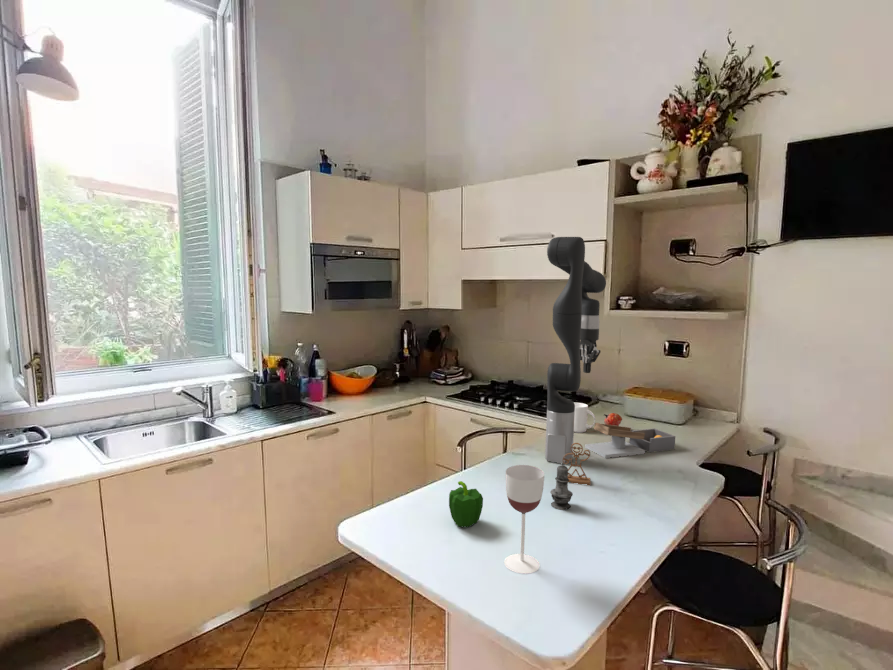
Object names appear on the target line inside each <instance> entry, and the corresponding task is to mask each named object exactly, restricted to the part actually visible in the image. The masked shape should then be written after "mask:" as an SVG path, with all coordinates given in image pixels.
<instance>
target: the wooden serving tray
mask: <svg viewBox="0 0 893 670" xmlns="http://www.w3.org/2000/svg"><path fill="white" fill-rule="evenodd" d="M593 429H594V430H595V431H598V432H600V433H603V434H604V435H605V436H606V435H607V436H611V437H612V436H619V437H625V438H628V439H630V438H635V439H643V440H644V436H645V434H644V433H638V432H632V427H630V426H629V427H628V426H620V425H619V426H616V425H606V424H605V423H599V422H595V424H594V426H593Z"/></svg>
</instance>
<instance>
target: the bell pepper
mask: <svg viewBox="0 0 893 670" xmlns="http://www.w3.org/2000/svg"><path fill="white" fill-rule="evenodd" d="M457 484H458V485H459V487H457V488H455V489H451V490H450V492H449V494H448V495H449V496H448V497H449V498H448V507H449V508H448V509H449V511H450V516H451V518H452V520H453V522H454V523H455V524H456V525H457V526H458V527H461V528H470V527H472V526H473V525H475V524H477V523H478V522H479V520H480V517H481V515H482V510H483V505H484V497H483V495H482V493H480V492H479V491H478V489H477V488H470V489H468V486H467V484H466V483H465V482H464V481H461V480H459V481H457Z"/></svg>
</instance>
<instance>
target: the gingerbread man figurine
mask: <svg viewBox="0 0 893 670" xmlns="http://www.w3.org/2000/svg"><path fill="white" fill-rule="evenodd" d="M574 445H578V447H576V446H574ZM572 446H573V447H572ZM571 448H573V451H572V449H571V452H572V453H568V454H566V455H565V456H567V455H570V454H571V455H573V458H575V459H574V460H575V462H574V463H573V462H572V461H573V460H572V458H570V459H569V460H571V462H569V460H567V459H565V458H564V457H565V456H564V457H563V460H565V461H568V462H567V463H565V462H564V461H563V463H564V465H568V464H569V463H570V466H569V467H568V479H569V481H568V482H571V483H570V484H574V483H578V484H577V485H582V484H587V485H586V486H591V477H588V476H587V474H586V473H585V472H584V470H583V467H582V462H585V461H588V459H590V457H591V450H589V449H584V447H583V445H582V444H581V443H579V442H573V444H572V445H571ZM576 449H577V450H578V451H576ZM583 450H584V451H583ZM587 452H588V453H587ZM584 455H585V456H587V457H586V458H584V459H580V460H579V461H580V464H578V462H577V461H578V458H580V456H581V457H582V456H584ZM572 467H577V468H580V470H581V471H582V473H583V474H580V473H579V471H578V469H577V468H574V470H573V472H572V473H570V472H569V471H570V469H571V468H572ZM575 472H576V473H577V475H578V476H577V475H574V474H575Z"/></svg>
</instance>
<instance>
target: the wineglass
mask: <svg viewBox="0 0 893 670" xmlns="http://www.w3.org/2000/svg"><path fill="white" fill-rule="evenodd" d="M544 482H545V472H544V471H543V469H541V468H539V467H536V466H533V465H528V464H527V465H526V464H517V465H512V466H509V467H507V468H506V470H505V491H506V497H507V500H508V503H509V505H510V506H511V508H513V509H514V510H515V511H517V512H519V513H521V528H520V530H521V531H520V553H514V554H510V555H508V556H506V557H505V559H504V562H503V563H504V566H505V567H506V568H507V569H508V570H510V571H512V572H514V573H517V574H523V575H525V574H526V575H527V574H532V573H533V574H534V573H535V572H537V571H538V570H539V569H540V568H541V567H540V566H541V565H540V562H539V561H538V559H536V557H534V556H531V555H528V554H525V539H526V538H525V535H526V514H528V513H530V512H532V511H534V510H535V509H537V507H539V504H540V503H541V500H542V497H543V493H544V485H545V483H544Z"/></svg>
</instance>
